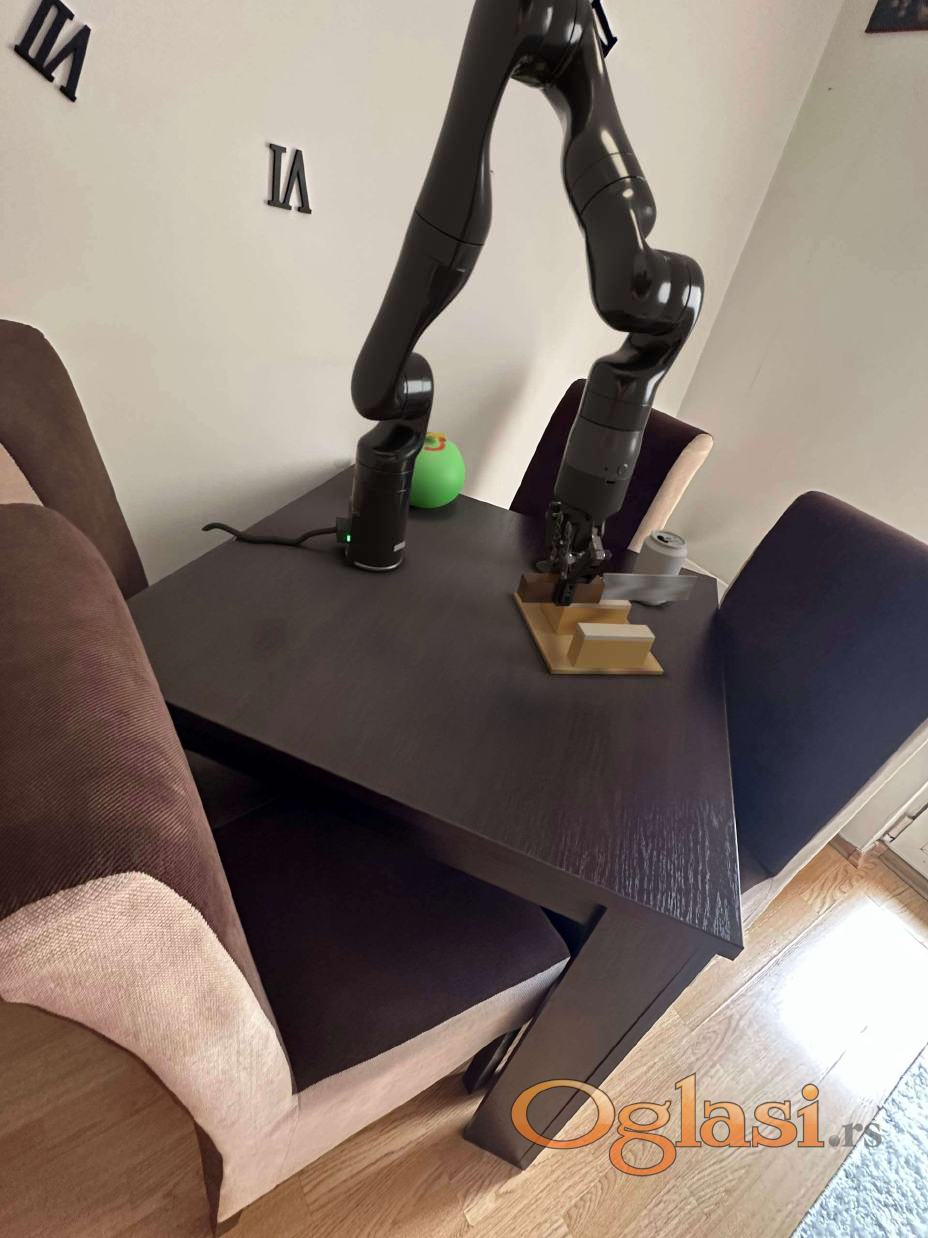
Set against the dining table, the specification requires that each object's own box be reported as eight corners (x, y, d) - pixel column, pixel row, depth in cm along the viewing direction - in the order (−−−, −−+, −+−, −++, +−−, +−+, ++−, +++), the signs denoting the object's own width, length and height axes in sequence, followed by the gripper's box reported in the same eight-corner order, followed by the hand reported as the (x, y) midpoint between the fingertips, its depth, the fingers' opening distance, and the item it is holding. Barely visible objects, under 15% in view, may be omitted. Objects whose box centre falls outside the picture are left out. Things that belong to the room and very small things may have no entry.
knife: (522, 602, 76) (529, 576, 74) (516, 592, 78) (523, 566, 76) (691, 605, 83) (701, 580, 81) (682, 595, 84) (692, 571, 83)
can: (620, 582, 119) (642, 523, 112) (658, 587, 120) (681, 529, 114) (632, 605, 113) (656, 544, 106) (672, 609, 114) (698, 550, 107)
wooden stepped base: (550, 674, 92) (563, 636, 88) (512, 596, 108) (521, 561, 104) (662, 674, 97) (678, 639, 93) (609, 600, 113) (621, 567, 109)
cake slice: (573, 667, 93) (585, 635, 90) (566, 654, 95) (577, 622, 92) (641, 668, 96) (655, 637, 93) (633, 656, 98) (646, 624, 95)
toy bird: (465, 525, 127) (480, 453, 119) (378, 517, 122) (388, 442, 114) (450, 487, 141) (462, 420, 133) (372, 479, 137) (380, 409, 129)
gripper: (544, 435, 74) (511, 568, 83) (591, 485, 63) (547, 631, 72) (603, 442, 76) (565, 570, 85) (659, 491, 65) (607, 632, 74)
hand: (557, 597), depth 78 cm, fingers closed on knife, 2 cm apart
